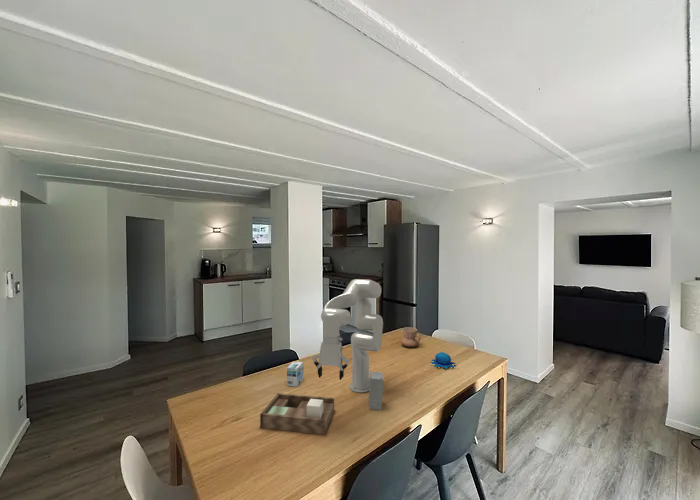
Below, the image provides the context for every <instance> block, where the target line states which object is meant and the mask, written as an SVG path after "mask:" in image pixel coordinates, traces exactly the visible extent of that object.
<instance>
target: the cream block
mask: <svg viewBox="0 0 700 500" xmlns="http://www.w3.org/2000/svg"><path fill="white" fill-rule="evenodd" d="M322 414H323V400H320V399H310V401H309V402H308V404H307V417H310V418H320V419H321V417H322Z"/></svg>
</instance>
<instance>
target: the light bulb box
mask: <svg viewBox="0 0 700 500" xmlns="http://www.w3.org/2000/svg"><path fill="white" fill-rule="evenodd" d="M304 367H305V364H304V361H296V360H295V361H294V360H293V361H291V363H289V365H288V366H287V367H286V386H287V387H294V388H298V386H299V385H300V384H302V382H304V370H305V369H304Z"/></svg>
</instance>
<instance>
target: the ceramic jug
mask: <svg viewBox="0 0 700 500" xmlns="http://www.w3.org/2000/svg"><path fill="white" fill-rule="evenodd" d="M400 332H401V333H402V334H403V336H404V337H403V338H402V339H401V340H400V344H401V345H402V346H403V347H405V348H409V347H412V348H417V347H418V346H419V343H420V341H421V336H420V335H419V334H418V329H417V328H416V327H410V326H409V327H407V326H406V327H402V330H401V331H400ZM416 337H418V339H416Z"/></svg>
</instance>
